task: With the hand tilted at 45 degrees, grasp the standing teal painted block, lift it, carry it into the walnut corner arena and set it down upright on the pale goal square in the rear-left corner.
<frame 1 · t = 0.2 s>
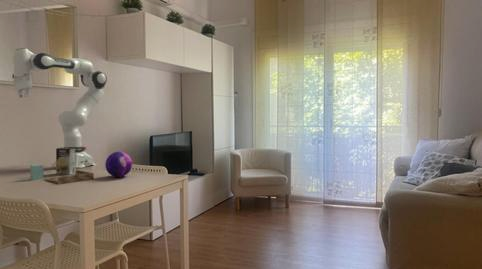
hand: (23, 97, 225), 47 cm above the table, tool pointing down, fingers open, 8 cm apart
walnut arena: (67, 179, 205), on the table
teal block: (37, 179, 207), on the table
coffee box: (65, 174, 225), on the table
decorative orb: (119, 177, 215), on the table
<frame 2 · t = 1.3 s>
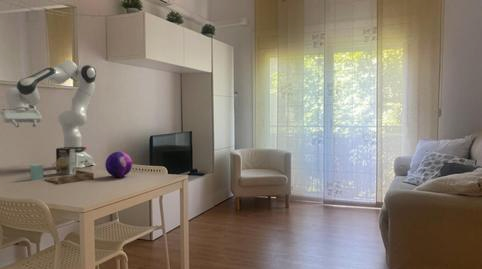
hand: (26, 126, 212), 30 cm above the table, tool tilted 45°, fingers open, 8 cm apart
nothing on the table moved.
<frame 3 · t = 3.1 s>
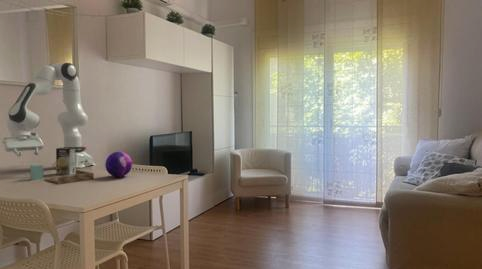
hand: (28, 155, 212), 13 cm above the table, tool tilted 45°, fingers open, 8 cm apart
nothing on the table moved.
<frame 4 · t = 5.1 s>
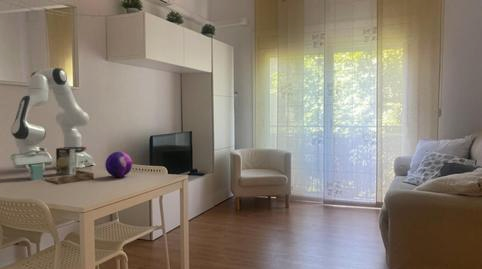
hand: (37, 171, 206), 4 cm above the table, tool tilted 45°, fingers closed on teal block, 5 cm apart
teal block: (37, 179, 207), on the table, touching gripper
everything else where it was.
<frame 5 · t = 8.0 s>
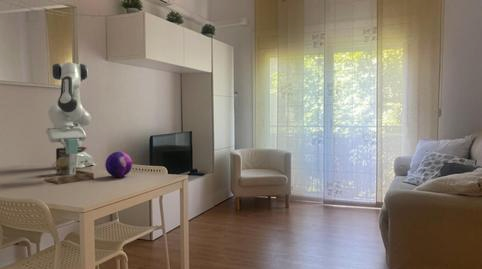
hand: (72, 146, 204), 19 cm above the table, tool tilted 45°, fingers closed on teal block, 5 cm apart
teal block: (71, 153, 205), point 15 cm above the table, touching gripper
everything else where it was.
when the fingers open (7 cm above the table, at t = 10.7 s): teal block drops 1 cm, resting on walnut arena.
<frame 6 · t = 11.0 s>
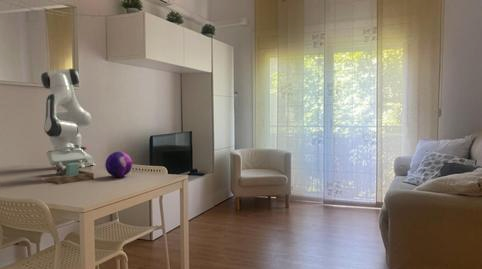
hand: (72, 168, 205), 7 cm above the table, tool tilted 45°, fingers open, 8 cm apart
teal block: (72, 177, 205), point 1 cm above the table, touching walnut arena
everything else where it was.
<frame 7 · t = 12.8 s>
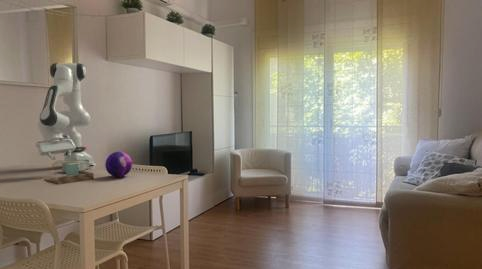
hand: (61, 157, 214), 11 cm above the table, tool tilted 45°, fingers open, 8 cm apart
coffee box: (68, 167, 227), point 3 cm above the table
everything else where it was.
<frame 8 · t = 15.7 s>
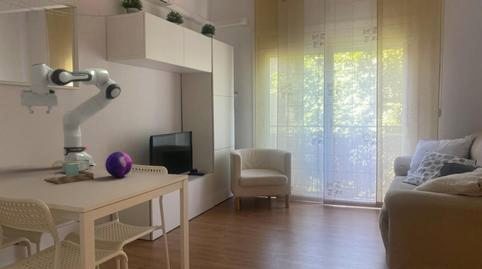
hand: (39, 113, 219), 37 cm above the table, tool pointing down, fingers open, 8 cm apart
nothing on the table moved.
at the end: teal block inside the target area on the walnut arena (2.7 cm from its centre), point 1.1 cm above the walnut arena's base; teal block tilted 0°; the gripper is holding nothing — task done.
